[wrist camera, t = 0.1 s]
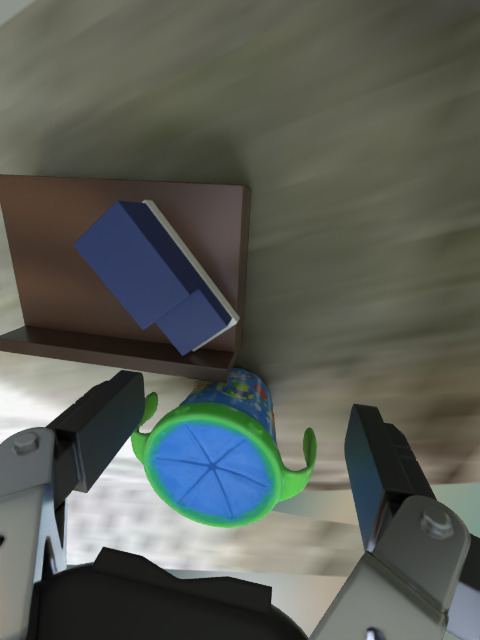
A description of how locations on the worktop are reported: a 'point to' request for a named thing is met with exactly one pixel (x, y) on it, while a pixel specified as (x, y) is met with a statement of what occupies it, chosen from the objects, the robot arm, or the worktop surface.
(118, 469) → the worktop surface
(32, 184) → the wooden display stand
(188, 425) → the snack cup
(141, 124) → the worktop surface
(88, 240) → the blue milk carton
